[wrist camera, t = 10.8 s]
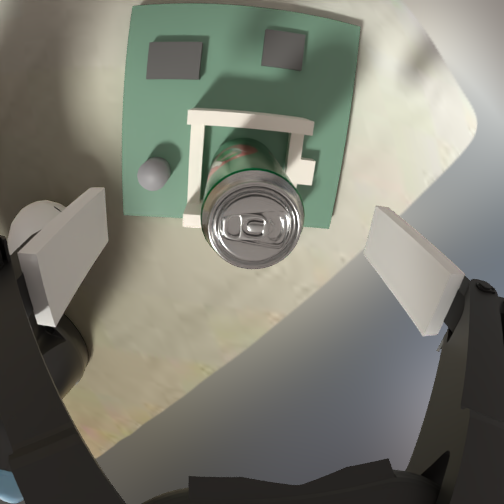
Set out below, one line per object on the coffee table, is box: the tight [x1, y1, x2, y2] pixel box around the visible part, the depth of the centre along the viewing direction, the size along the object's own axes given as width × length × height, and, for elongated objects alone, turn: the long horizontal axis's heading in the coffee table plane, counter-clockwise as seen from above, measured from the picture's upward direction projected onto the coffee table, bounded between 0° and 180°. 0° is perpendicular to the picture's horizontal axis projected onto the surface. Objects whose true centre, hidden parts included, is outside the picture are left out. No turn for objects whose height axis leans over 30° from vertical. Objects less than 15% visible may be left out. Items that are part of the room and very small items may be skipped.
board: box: [122, 3, 360, 229], centre depth 22 cm, size 18×18×5 cm
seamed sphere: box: [8, 200, 66, 255], centre depth 25 cm, size 10×7×7 cm
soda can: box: [200, 138, 305, 269], centre depth 20 cm, size 5×5×12 cm
